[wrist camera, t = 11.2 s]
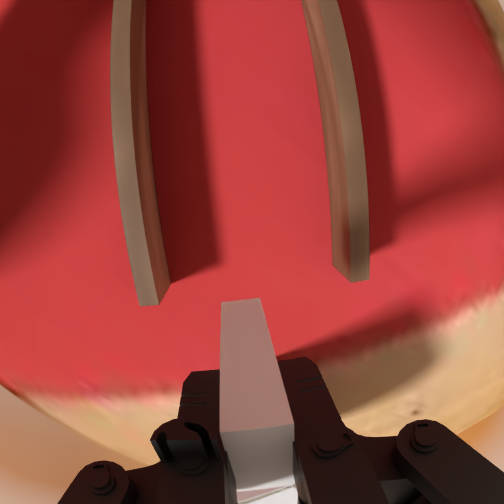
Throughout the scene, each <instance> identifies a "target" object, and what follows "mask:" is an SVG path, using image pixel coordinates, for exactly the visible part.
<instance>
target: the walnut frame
mask: <svg viewBox="0 0 504 504" xmlns="http://www.w3.org/2000/svg"><path fill="white" fill-rule="evenodd" d="M301 2H302V7H303V11H304V16H305V21H306V25H307V30H308V35H309V41H310V46H311V52H312V57H313V63H314V69H315V75H316V82H317V88H318V95H319V102H320V109H321V117H322V125H323V134H324V142H325V152H326V162H327V173H328V185H329V198H330V213H331V231H332V255H333V266H334V267H335V268H336V269H337V270H338V271H339V272H340V273H341V274H342V275H343V276H344V277H345V278H347V279H348V280H349V281H350V282H357V281H364V280H369V262H370V247H369V208H368V189H367V174H366V162H365V151H364V142H363V133H362V125H361V117H360V110H359V103H358V96H357V90H356V84H355V78H354V73H353V67H352V62H351V57H350V52H349V47H348V43H347V38H346V34H345V30H344V25H343V21H342V17H341V13H340V10H339V6H338V2H337V0H301ZM110 92H111V119H112V135H113V148H114V159H115V169H116V178H117V186H118V194H119V201H120V208H121V215H122V221H123V227H124V233H125V239H126V244H127V250H128V255H129V260H130V265H131V270H132V274H133V279H134V283H135V288H136V292H137V296H138V301H139V305H140V306H150V305H159V304H160V302H161V300H162V299H163V297H164V295H165V293H166V292H167V290H168V288H169V287H170V285H171V281H170V276H169V270H168V265H167V259H166V253H165V248H164V242H163V235H162V229H161V223H160V216H159V209H158V202H157V194H156V186H155V178H154V169H153V160H152V150H151V139H150V127H149V114H148V98H147V77H146V0H114V3H113V15H112V29H111V55H110Z"/></svg>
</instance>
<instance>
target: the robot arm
mask: <svg viewBox="0 0 504 504" xmlns="http://www.w3.org/2000/svg"><path fill="white" fill-rule="evenodd" d="M181 395H182V397H181V400H180V407H179V412H178V419H173V420H171V421H168V422H166V423H164V424H162V425H161V426H160V427H159V428H157V429H156V430H155V431H154V433H153V435H152V437H151V439H150V441H151V443H152V445H153V447H154V449H155V451H156V453H157V455H158V456H159V458H160V460H161V461H160V462H158V463H156V464H154V465H151V466H148V467H144V468H139V469H133V470H128V471H125V470H124V469H123V468H122V466H120V465H118V464H116V463H114V462H110V461H97V462H93V463H91V464H89V465H87V466H85V467H84V468H83V469H82V470H81V471H80V472H79V473H78V474H77V476H76V477H75V479H74V480H73V482H72V483H71V485H70V486H69V488H68V489H67V491H66V492H65V493H64V495H63V497H62V498H61V499H60V501H59V502H58V504H238V502H237V491H238V492H239V491H250V490H259V489H268V488H275V487H282V486H288V485H294V484H296V488H297V492H298V504H504V472H502V471H501V470H500V469H499V468H497V467H496V466H495V465H494V464H492V463H491V462H490V461H488V460H487V459H486V458H484V457H483V456H482V455H481V454H479V453H478V452H477V451H476V450H474V449H473V448H472V447H471V446H469V445H468V444H467V443H465V442H464V441H463V440H462V439H461V438H459V437H458V436H457V435H455V434H454V433H453V432H452V431H450V430H449V429H448V428H447V427H445V426H444V425H442V424H440V423H438V422H437V421H432V420H427V419H425V420H416V421H414V422H411V423H409V424H407V425H406V426H405V427H403V428H402V429H401V430H400V432H399V434H398V436H389V437H365V436H362V435H358V434H356V433H354V431H352V430H351V429H349V428H347V427H346V426H345V425H344V423H343V422H342V420H341V417H340V415H339V413H338V411H337V409H336V406H335V404H334V402H333V400H332V398H331V395H330V393H329V391H328V389H327V388H326V384H325V382H324V380H323V378H322V376H321V373H320V371H319V369H318V367H317V365H316V364H315V363H313V362H312V361H311V360H309V359H308V358H307V357H302V358H296V359H290V360H283V361H277V359H276V355H275V352H274V348H273V344H272V341H271V337H270V333H269V329H268V326H267V322H266V318H265V315H264V311H263V307H262V304H261V300H260V298H254V299H246V300H237V301H229V302H221V336H220V369H219V370H208V371H195V372H191V373H190V375H189V376H188V377H187V378H186V380H185V381H184V382H183V388H182V394H181ZM236 488H237V490H236Z"/></svg>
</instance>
